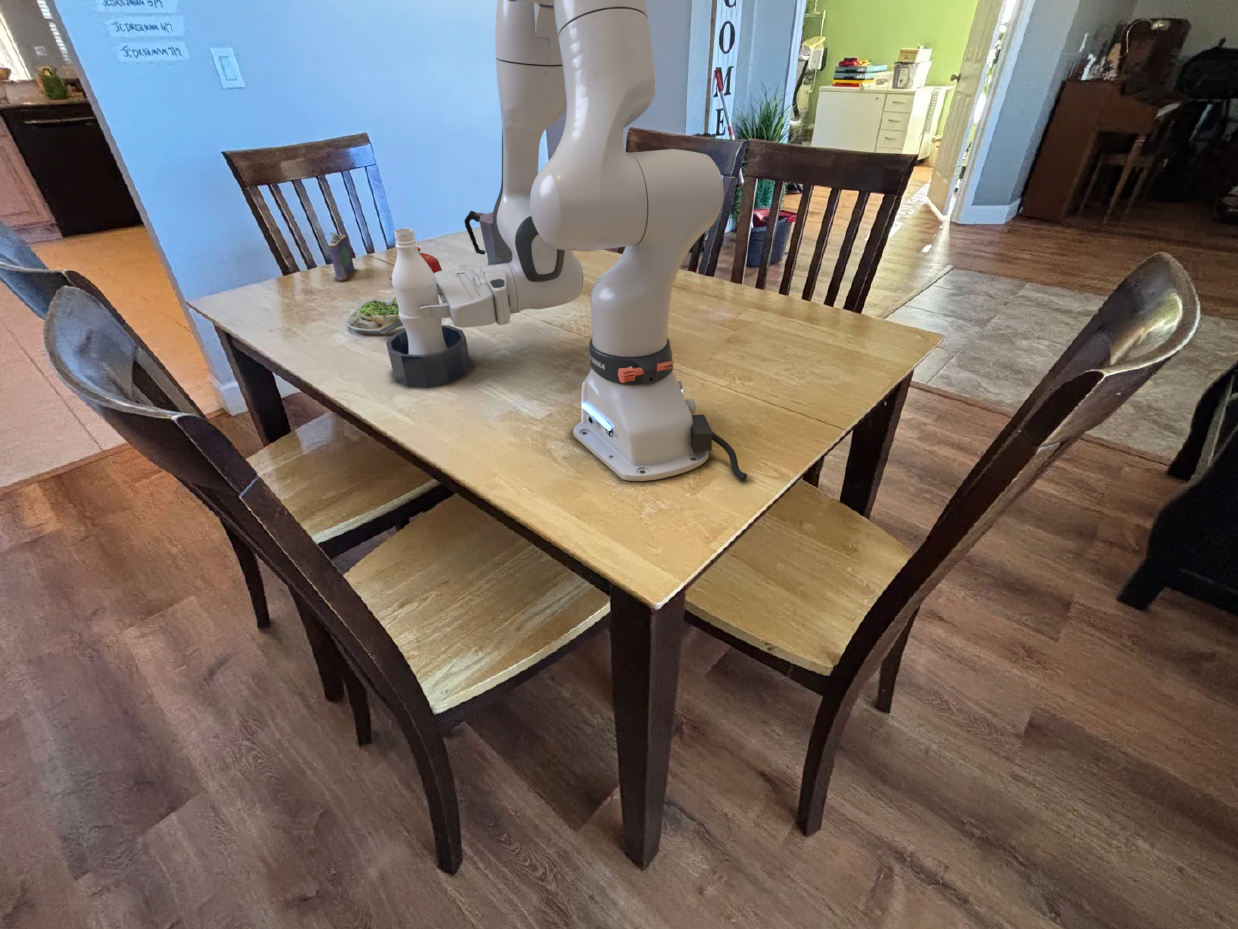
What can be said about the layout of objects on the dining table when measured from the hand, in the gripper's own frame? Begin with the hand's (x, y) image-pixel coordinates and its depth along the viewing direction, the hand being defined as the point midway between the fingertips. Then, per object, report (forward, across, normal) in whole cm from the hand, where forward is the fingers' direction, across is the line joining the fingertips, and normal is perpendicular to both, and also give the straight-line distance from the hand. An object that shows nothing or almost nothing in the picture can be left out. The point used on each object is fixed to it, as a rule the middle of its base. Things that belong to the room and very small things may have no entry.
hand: (415, 302), depth 108 cm
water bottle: (0, 0, +13) cm, 13 cm away
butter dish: (-5, -50, +13) cm, 52 cm away
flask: (+12, -63, +13) cm, 65 cm away
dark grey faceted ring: (0, 0, +13) cm, 13 cm away
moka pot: (-22, -34, +13) cm, 43 cm away
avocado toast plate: (+4, -28, +13) cm, 31 cm away
